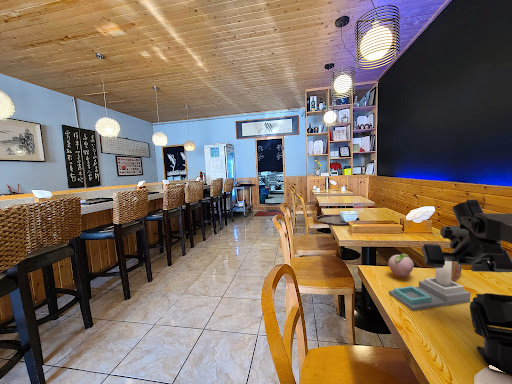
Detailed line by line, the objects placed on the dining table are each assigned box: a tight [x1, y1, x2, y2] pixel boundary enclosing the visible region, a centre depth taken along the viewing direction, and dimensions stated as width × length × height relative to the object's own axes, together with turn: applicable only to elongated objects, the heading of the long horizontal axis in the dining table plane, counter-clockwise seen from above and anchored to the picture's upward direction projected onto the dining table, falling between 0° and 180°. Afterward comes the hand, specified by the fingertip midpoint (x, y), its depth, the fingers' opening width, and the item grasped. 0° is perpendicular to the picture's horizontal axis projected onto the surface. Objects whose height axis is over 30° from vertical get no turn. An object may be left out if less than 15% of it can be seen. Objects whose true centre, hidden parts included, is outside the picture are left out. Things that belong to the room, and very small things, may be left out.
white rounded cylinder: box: [435, 261, 452, 288], centre depth 74 cm, size 5×4×10 cm
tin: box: [451, 258, 462, 283], centre depth 84 cm, size 15×3×8 cm, turn 124°
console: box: [388, 276, 471, 312], centre depth 73 cm, size 21×10×4 cm, turn 99°
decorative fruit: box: [387, 252, 415, 278], centre depth 87 cm, size 9×8×10 cm
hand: (453, 268), depth 67 cm, fingers open, 9 cm apart
